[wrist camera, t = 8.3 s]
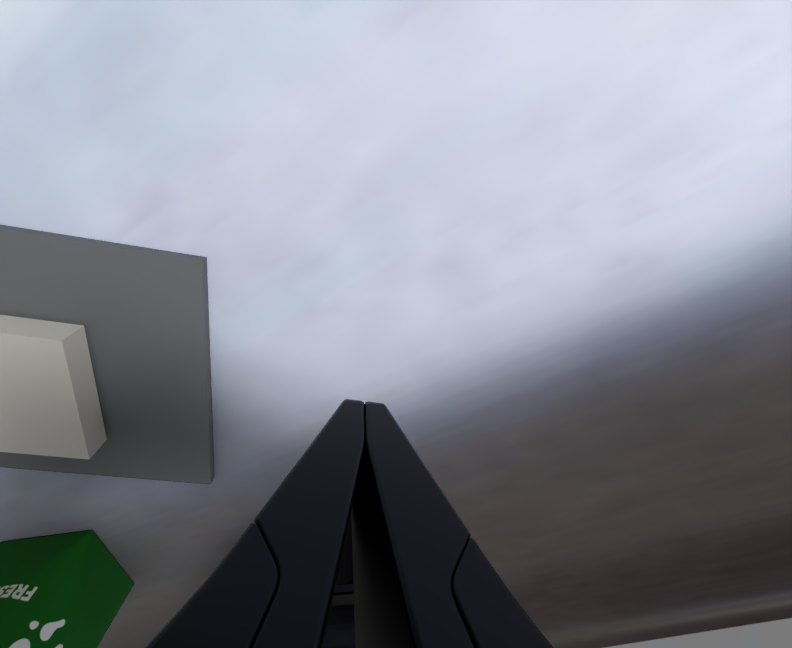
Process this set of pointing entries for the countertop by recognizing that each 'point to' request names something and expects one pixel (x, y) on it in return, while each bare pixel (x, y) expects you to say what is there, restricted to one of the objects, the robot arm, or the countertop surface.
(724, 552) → the countertop surface
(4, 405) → the tile
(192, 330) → the mat
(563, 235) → the countertop surface
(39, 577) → the milk carton
